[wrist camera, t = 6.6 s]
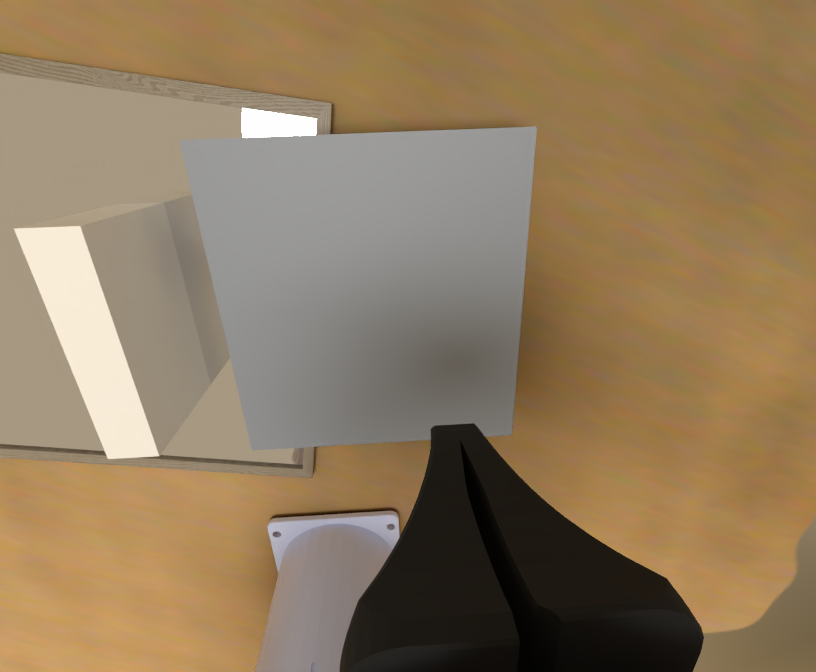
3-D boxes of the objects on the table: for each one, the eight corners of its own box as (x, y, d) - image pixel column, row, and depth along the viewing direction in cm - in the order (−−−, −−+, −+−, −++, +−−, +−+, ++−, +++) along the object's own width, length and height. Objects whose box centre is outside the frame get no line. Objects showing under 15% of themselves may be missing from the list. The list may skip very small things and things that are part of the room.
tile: (159, 456, 17) (108, 459, 17) (214, 379, 22) (175, 381, 22) (80, 225, 13) (13, 228, 13) (168, 200, 19) (122, 202, 19)
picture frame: (334, 105, 18) (-466, -15, 15) (331, 103, 17) (-521, -25, 14) (314, 466, 26) (-216, 429, 23) (312, 478, 25) (-241, 441, 22)
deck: (499, 407, 24) (511, 435, 22) (264, 420, 24) (251, 450, 21) (517, 128, 18) (536, 126, 16) (205, 140, 18) (179, 140, 15)
